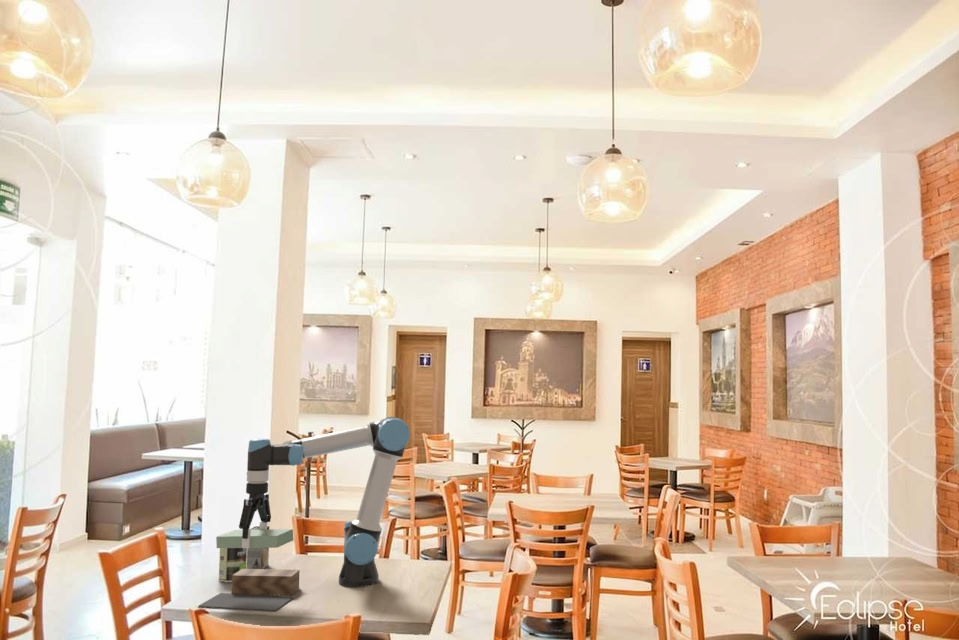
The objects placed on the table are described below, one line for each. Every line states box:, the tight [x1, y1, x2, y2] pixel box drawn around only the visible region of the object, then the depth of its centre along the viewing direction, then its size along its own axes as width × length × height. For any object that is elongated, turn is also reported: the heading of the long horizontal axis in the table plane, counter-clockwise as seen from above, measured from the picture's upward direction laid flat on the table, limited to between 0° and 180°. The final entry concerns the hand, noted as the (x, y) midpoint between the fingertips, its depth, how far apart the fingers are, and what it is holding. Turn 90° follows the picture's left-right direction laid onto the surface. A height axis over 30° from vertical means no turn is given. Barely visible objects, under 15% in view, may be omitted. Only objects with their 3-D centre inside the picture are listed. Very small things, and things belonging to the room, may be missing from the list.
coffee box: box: [246, 525, 270, 569], centre depth 288 cm, size 9×6×16 cm
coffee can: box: [218, 548, 247, 583], centre depth 272 cm, size 10×10×14 cm
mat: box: [198, 592, 295, 613], centre depth 241 cm, size 28×15×1 cm, turn 81°
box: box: [231, 568, 300, 596], centre depth 255 cm, size 22×9×7 cm, turn 87°
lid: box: [215, 528, 294, 549], centre depth 249 cm, size 24×11×4 cm, turn 76°
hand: (254, 544), depth 248 cm, fingers closed on lid, 11 cm apart
